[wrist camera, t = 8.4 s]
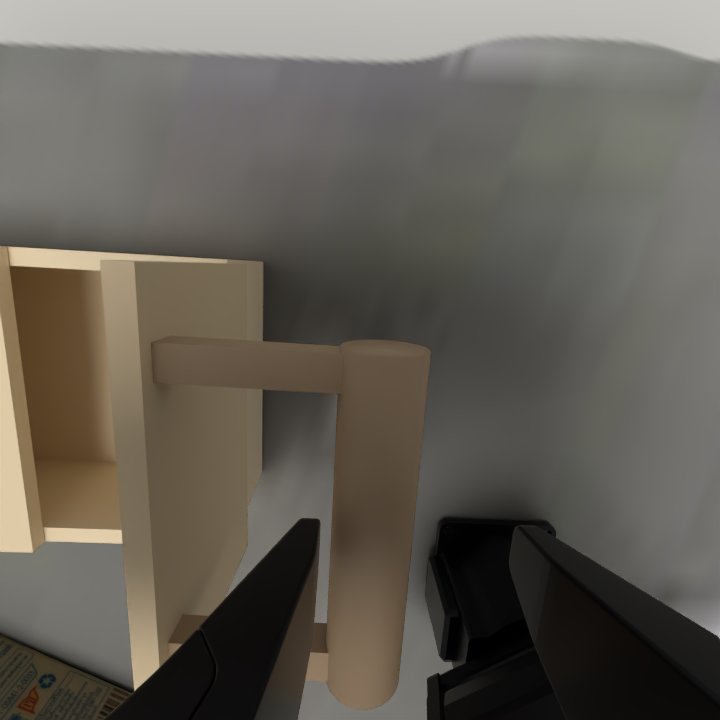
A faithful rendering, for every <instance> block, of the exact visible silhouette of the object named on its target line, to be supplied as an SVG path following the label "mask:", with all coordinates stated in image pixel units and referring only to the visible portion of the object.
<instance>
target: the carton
mask: <svg viewBox="0 0 720 720" xmlns="http://www.w3.org/2000/svg"><path fill="white" fill-rule="evenodd" d="M100 260H132V261H170V262H208V263H237V264H247V340H250V341H263V262H262V261H245V260H229V259H212V258H195V257H178V256H162V255H145V254H128V253H111V252H94V251H78V250H61V249H44V248H27V247H11V246H0V552H31V553H33V552H34V551H35V550H36V549H37V548H39V547H40V546H41V545H42V544H43V543H44V542H45V541H57V542H89V543H121V544H123V543H122V531H121V518H120V506H119V493H118V481H117V468H116V456H115V443H114V431H113V418H112V406H111V393H110V381H109V368H108V356H107V344H106V331H105V319H104V306H103V294H102V281H101V269H100ZM262 405H263V389H247V507H248V505H249V503H250V500H251V498H252V495H253V493H254V491H255V488H256V486H257V483H258V481H259V479H260V476H261V474H262Z"/></svg>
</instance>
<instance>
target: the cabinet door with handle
mask: <svg viewBox="0 0 720 720" xmlns="http://www.w3.org/2000/svg"><path fill="white" fill-rule="evenodd" d="M100 269H101V281H102V294H103V306H104V319H105V331H106V344H107V356H108V368H109V381H110V393H111V406H112V418H113V431H114V443H115V456H116V468H117V481H118V493H119V506H120V518H121V531H122V543H123V556H124V568H125V581H126V593H127V606H128V618H129V631H130V643H131V656H132V668H133V681H134V691H135V690H136V689H137V688H138V687H139V686H140V685H141V684H143V683H144V682H145V681H146V680H147V679H148V678H149V677H150V676H151V675H152V674H153V673H154V672H155V671H156V670H157V669H158V668H159V667H160V666H161V665H162V664H163V663H164V662H165V661H166V660H167V659H168V658H169V657H170V656H171V655H172V654H173V653H174V652H175V651H176V650H177V649H178V648H179V647H180V646H181V645H182V644H183V643H184V642H185V641H186V640H187V639H188V638H189V636H190V635H191V634H192V633H193V632H194V631H195V630H198V629H199V626H200V625H201V624H202V623H203V622H204V621H205V620H206V619H207V618H208V616H209V615H210V614H211V613H212V612H213V611H214V610H215V609H216V608H217V607H218V606H219V605H220V604H221V603H222V602H223V600H224V599H225V597H226V595H227V592H228V590H229V588H230V585H231V583H232V581H233V578H234V576H235V574H236V571H237V569H238V567H239V564H240V562H241V560H242V558H243V555H244V553H245V551H246V548H247V546H248V529H247V389H263V390H279V391H296V392H312V393H328V394H338V405H337V425H336V446H335V467H334V487H333V508H332V529H331V549H330V570H329V591H328V611H327V624H326V623H314V629H313V639H312V646H311V652H310V657H309V662H308V668H307V673H306V678H305V680H311V681H326V683H327V686H328V688H329V690H330V692H331V693H332V694H333V696H334V697H335V698H336V699H337V700H338V701H340V702H341V703H342V704H344V705H346V706H348V707H350V708H354V709H359V710H368V709H373V708H377V707H379V706H381V705H383V704H384V703H386V702H387V701H388V700H389V699H390V698H391V697H392V696H393V694H394V692H395V690H396V688H397V685H398V680H399V671H400V661H401V651H402V641H403V630H404V620H405V610H406V600H407V590H408V580H409V570H410V559H411V549H412V539H413V529H414V519H415V509H416V499H417V488H418V478H419V468H420V458H421V448H422V438H423V428H424V418H425V407H426V397H427V387H428V377H429V367H430V357H431V350H430V349H428V348H426V347H424V346H421V345H417V344H413V343H407V342H401V341H392V340H376V339H365V340H352V341H347V342H344V343H342V344H341V345H340V346H332V345H316V344H299V343H283V342H266V341H250V340H247V264H237V263H208V262H170V261H132V260H100Z"/></svg>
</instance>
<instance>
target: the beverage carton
mask: <svg viewBox="0 0 720 720" xmlns="http://www.w3.org/2000/svg"><path fill="white" fill-rule="evenodd" d="M131 694H132V693H131V692H128V691H126V690H124V689H121V688H119V687H117V686H114V685H112V684H110V683H108V682H105V681H103V680H101V679H98V678H96V677H94V676H92V675H89V674H87V673H85V672H82V671H80V670H78V669H75V668H73V667H71V666H69V665H66V664H64V663H62V662H60V661H58V660H55V659H53V658H51V657H48V656H46V655H44V654H42V653H40V652H37V651H35V650H33V649H31V648H28V647H26V646H24V645H22V644H19V643H17V642H15V641H13V640H11V639H8V638H6V637H4V636H1V635H0V720H103V719H104V718H105V717H106V716H107V715H109V714H110V713H111V712H112V711H113V710H114V709H115V708H116V707H118V706H119V705H120V704H121V703H122V702H123V701H124V700H125V699H126V698H127V697H128V696H130V695H131Z"/></svg>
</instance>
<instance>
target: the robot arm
mask: <svg viewBox="0 0 720 720" xmlns="http://www.w3.org/2000/svg"><path fill="white" fill-rule="evenodd" d="M446 527H451V529H449V530H447V531H446V530H444V529H445V528H446ZM546 530H548V532H545V531H546ZM555 537H556V531H555V529H554V528H553V526H552V525H551V524H550V523H548V522H535V521H506V520H478V519H449V518H447V519H443V520H441V521H440V523H439V525H438V530H437V539H436V548H435V555H432V556H431V557H430V558H429V562H428V571H427V580H426V589H425V597H426V601H427V606H428V610H429V615H430V619H431V623H432V627H433V631H434V636H435V640H436V644H437V649H438V653H439V656H440V658H441V659H442V660H443V661H444V662H452V665H453V669H451V670H449V671H447V672H445V673H443V674H441V675H440V674H439V673H437V674H435V675H433V676H431V677H429V678H427V692H428V698H427V720H720V638H719V637H718V636H716V635H715V634H713V633H711V632H710V631H708V630H706V629H705V628H703V627H701V626H700V625H698V624H696V623H695V622H693V621H692V620H690V619H688V618H687V617H685V616H683V615H682V614H680V613H678V612H677V611H675V610H673V609H672V608H670V607H668V606H667V605H665V604H664V603H662V602H660V601H659V600H657V599H655V598H654V597H652V596H650V595H649V594H647V593H645V592H644V591H642V590H640V589H639V588H637V587H636V586H634V585H632V584H631V583H629V582H627V581H626V580H624V579H622V578H621V577H619V576H617V575H616V574H614V573H613V572H611V571H609V570H608V569H606V568H604V567H603V566H601V565H599V564H598V563H596V562H594V561H593V560H591V559H590V558H588V557H586V556H585V555H583V554H581V553H580V552H578V551H576V550H575V549H573V548H571V547H570V546H568V545H566V544H565V543H563V542H562V541H560V540H558V539H557V538H555ZM319 546H320V520H319V519H313V518H301V519H299V520H298V521H297V523H296V524H295V525H294V526H293V527H292V528H291V529H290V530H289V531H288V532H287V533H286V534H285V535H284V536H283V537H282V539H281V540H280V541H279V542H278V543H277V544H276V545H275V546H274V547H273V548H272V549H271V550H270V551H269V552H268V553H267V555H266V556H265V557H264V558H263V559H262V560H261V561H260V562H259V563H258V564H257V565H256V566H255V567H254V568H253V569H252V571H251V572H250V573H249V574H248V575H247V576H246V577H245V578H244V579H243V580H242V581H241V582H240V583H239V584H238V586H237V587H236V588H235V589H234V590H233V591H232V592H231V593H230V594H229V595H228V596H227V597H226V598H225V599H224V600H223V602H222V603H221V604H220V605H219V606H218V607H217V608H216V609H215V610H214V611H213V612H212V613H211V614H210V615H209V616H208V618H207V619H206V620H205V621H204V622H203V623H202V624H201V625H200V626H199V629H198V630H195V631H194V632H193V633H192V634H191V635H190V636H189V638H188V639H187V640H186V641H185V642H184V643H183V644H182V645H181V646H180V647H179V648H178V649H177V650H176V651H175V652H174V653H173V654H172V655H171V656H170V657H169V658H168V659H167V660H166V661H165V662H164V663H163V664H162V665H161V666H160V667H159V668H158V669H157V670H156V671H155V672H154V673H153V674H152V675H151V676H150V677H149V678H148V679H147V680H146V681H145V682H144V683H143V684H141V685H140V686H139V687H138V688H137V689H136V690H135V691H134V692H133V693H132V694H131V695H130V696H128V697H127V698H126V699H125V700H124V701H123V702H122V703H121V704H120V705H119V706H118V707H116V708H115V709H114V710H113V711H112V712H111V713H110V714H109V715H107V716H106V717H105V718H104V719H103V720H297V719H298V714H299V709H300V704H301V699H302V693H303V688H304V683H305V678H306V673H307V668H308V662H309V657H310V652H311V646H312V639H313V629H314V617H315V604H316V591H317V578H318V565H319Z"/></svg>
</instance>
